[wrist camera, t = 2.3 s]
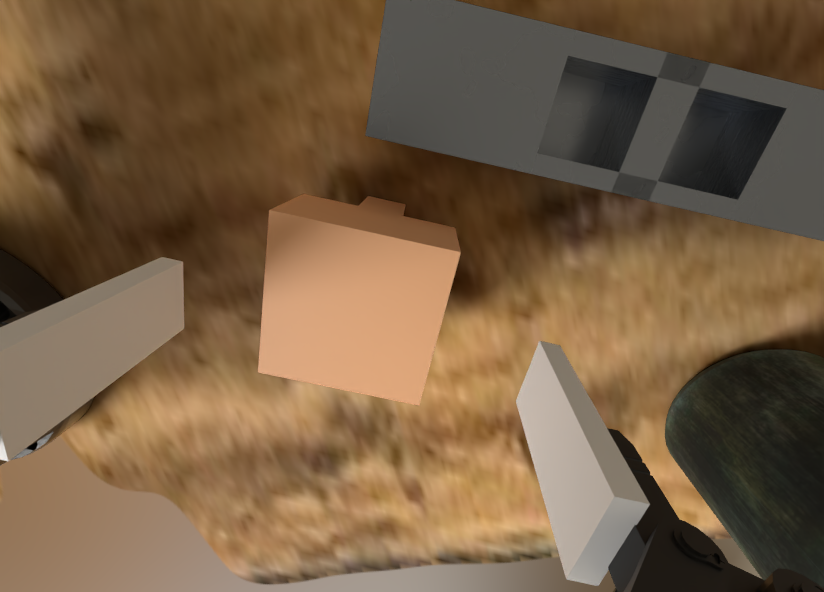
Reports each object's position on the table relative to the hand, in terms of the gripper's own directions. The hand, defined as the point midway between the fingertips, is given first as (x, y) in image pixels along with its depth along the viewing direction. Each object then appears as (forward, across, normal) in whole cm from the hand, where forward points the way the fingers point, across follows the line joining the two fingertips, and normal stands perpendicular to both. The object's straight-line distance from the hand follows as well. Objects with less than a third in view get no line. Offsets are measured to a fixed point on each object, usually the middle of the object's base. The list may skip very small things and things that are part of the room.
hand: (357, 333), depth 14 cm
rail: (+8, +9, +9) cm, 15 cm away
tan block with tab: (+8, -1, 0) cm, 8 cm away
